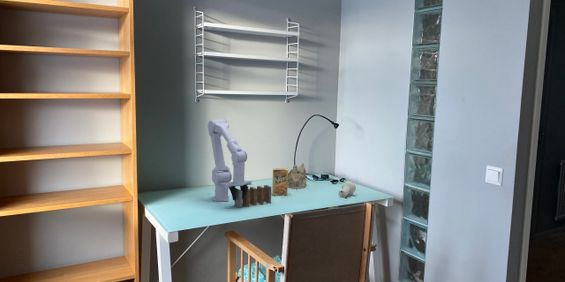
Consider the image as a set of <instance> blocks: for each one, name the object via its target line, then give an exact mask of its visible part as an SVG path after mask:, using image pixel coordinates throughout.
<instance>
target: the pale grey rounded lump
mask: <svg viewBox="0 0 565 282" xmlns="http://www.w3.org/2000/svg"><path fill="white" fill-rule="evenodd" d="M356 190H357V186H356V184H355V183H354V182H353V181H351V180H347V181H345V182H344V183H342V184H341V189H340V190H339V191H338V196H339V197H340V198H342V197H344V198H343V199H345V198H346V197H347V196H351V195H353V194H354V193H355V192H356Z"/></svg>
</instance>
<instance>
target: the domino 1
mask: <svg viewBox="0 0 565 282" xmlns="http://www.w3.org/2000/svg"><path fill="white" fill-rule="evenodd" d="M233 202H234V203H233V204H234V206H235V207H236V208H238V209H241V208H243V205H242V190H240V189H239V188H237V192H236V201H234V200H233Z"/></svg>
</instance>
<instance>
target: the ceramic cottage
mask: <svg viewBox="0 0 565 282" xmlns="http://www.w3.org/2000/svg"><path fill="white" fill-rule="evenodd" d="M306 174H307V170H306V167H305V164H304V162H303V163H302V164H301V165H299V166H298V165H297V164H294V166H293V168H291V169H290V171H288V188H287V189H290V188H291V190H298V189H299V190H300V189H305V188H307V186H308V185H307V177H306Z"/></svg>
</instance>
